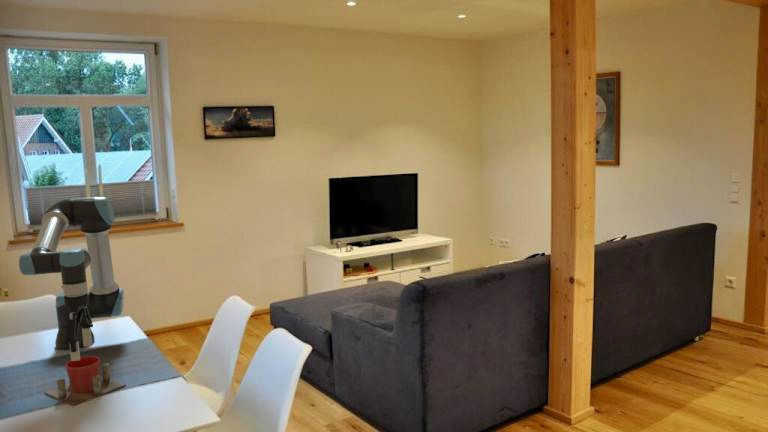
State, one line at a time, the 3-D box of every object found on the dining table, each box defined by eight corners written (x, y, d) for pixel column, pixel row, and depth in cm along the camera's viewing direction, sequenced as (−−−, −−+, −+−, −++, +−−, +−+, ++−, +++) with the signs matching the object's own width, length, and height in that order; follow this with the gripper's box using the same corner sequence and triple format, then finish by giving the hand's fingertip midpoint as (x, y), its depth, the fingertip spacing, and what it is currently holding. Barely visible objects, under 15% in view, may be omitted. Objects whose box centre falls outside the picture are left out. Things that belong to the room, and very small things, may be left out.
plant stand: (96, 375, 230) (95, 358, 229) (125, 386, 219) (124, 368, 218) (44, 393, 215) (42, 375, 214) (72, 406, 204) (70, 387, 203)
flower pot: (109, 384, 220) (106, 358, 218) (82, 396, 210) (79, 369, 209) (88, 380, 224) (85, 354, 223) (61, 391, 214) (58, 365, 213)
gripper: (75, 285, 224) (81, 341, 227) (51, 305, 199) (58, 367, 203) (97, 284, 225) (103, 339, 228) (75, 303, 201) (82, 365, 204)
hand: (82, 352), depth 215 cm, fingers open, 13 cm apart
